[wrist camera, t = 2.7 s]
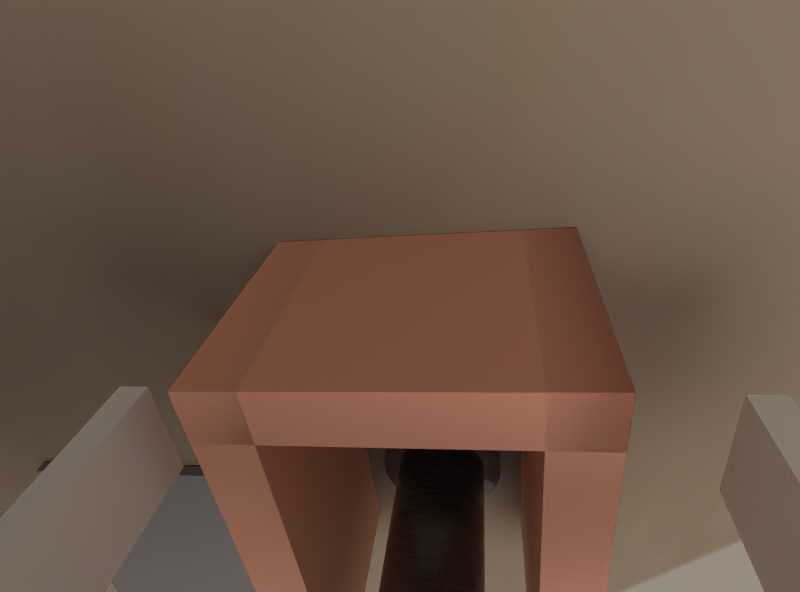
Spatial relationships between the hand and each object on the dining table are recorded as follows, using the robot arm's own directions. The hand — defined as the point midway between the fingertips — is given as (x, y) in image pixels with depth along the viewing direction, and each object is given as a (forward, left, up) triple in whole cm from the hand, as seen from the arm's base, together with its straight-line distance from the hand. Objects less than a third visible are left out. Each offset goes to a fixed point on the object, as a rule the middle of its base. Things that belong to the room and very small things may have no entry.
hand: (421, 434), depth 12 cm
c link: (0, -4, -6) cm, 7 cm away
